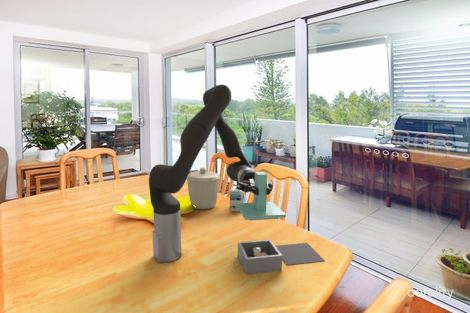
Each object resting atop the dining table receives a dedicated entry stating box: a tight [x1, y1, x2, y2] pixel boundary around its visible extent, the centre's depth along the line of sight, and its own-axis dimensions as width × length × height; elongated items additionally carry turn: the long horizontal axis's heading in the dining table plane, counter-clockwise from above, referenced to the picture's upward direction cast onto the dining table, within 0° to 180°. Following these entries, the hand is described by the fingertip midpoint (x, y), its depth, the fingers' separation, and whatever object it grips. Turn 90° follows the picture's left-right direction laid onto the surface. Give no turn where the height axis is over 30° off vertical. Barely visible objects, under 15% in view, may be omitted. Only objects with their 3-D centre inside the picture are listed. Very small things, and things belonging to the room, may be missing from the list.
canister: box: [186, 167, 221, 210], centre depth 161 cm, size 18×18×21 cm
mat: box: [275, 242, 326, 266], centre depth 112 cm, size 14×14×1 cm
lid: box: [236, 171, 287, 222], centre depth 100 cm, size 13×13×14 cm
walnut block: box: [254, 253, 267, 257], centre depth 102 cm, size 4×4×4 cm
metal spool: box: [252, 246, 261, 257], centre depth 107 cm, size 3×3×4 cm
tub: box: [237, 239, 283, 275], centre depth 104 cm, size 12×12×6 cm
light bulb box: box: [229, 185, 247, 212], centre depth 160 cm, size 11×7×11 cm, turn 168°
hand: (263, 192), depth 97 cm, fingers closed on lid, 3 cm apart
